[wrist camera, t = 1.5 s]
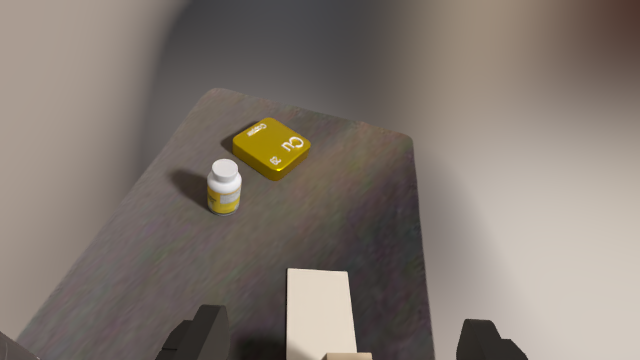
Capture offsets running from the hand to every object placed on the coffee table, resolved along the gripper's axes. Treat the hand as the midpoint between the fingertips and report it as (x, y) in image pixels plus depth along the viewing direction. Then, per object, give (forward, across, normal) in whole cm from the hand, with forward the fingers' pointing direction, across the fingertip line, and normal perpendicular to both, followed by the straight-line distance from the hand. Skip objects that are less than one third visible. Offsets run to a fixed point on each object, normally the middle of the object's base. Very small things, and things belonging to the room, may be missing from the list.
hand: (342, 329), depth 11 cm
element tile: (+70, -19, -20) cm, 75 cm away
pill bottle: (+51, -25, -25) cm, 62 cm away
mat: (+34, -3, -38) cm, 51 cm away
